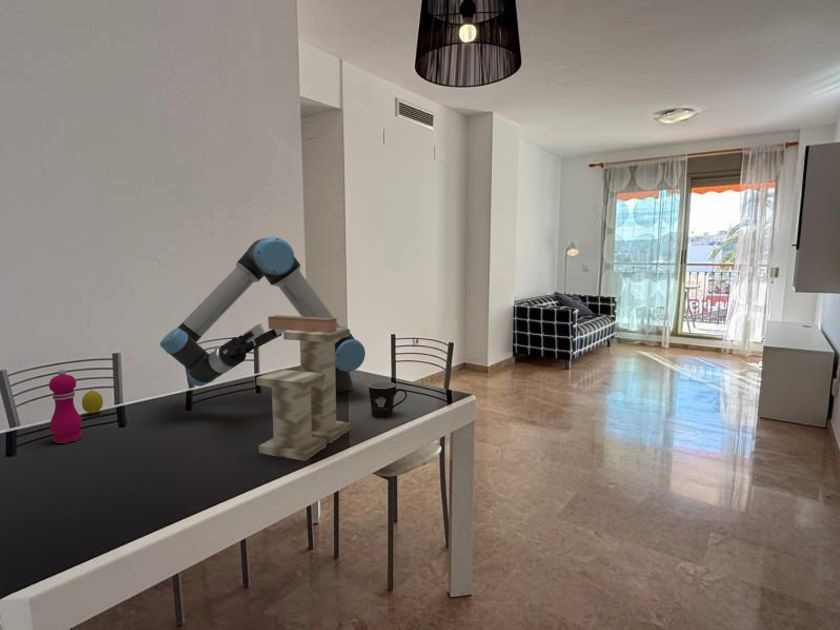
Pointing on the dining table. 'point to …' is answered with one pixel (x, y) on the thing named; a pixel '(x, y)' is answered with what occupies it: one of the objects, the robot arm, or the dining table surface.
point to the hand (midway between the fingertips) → (277, 324)
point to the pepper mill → (64, 408)
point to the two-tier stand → (305, 398)
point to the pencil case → (302, 323)
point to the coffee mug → (383, 398)
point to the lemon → (92, 402)
